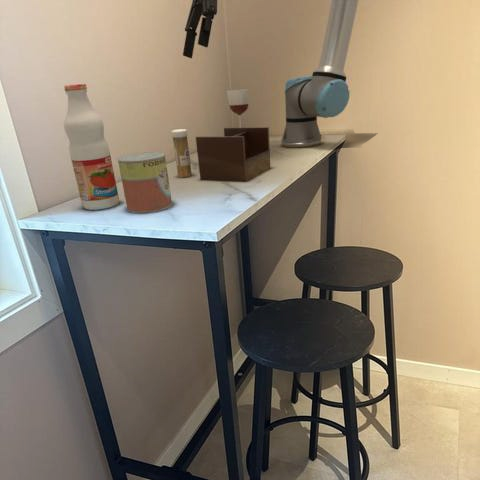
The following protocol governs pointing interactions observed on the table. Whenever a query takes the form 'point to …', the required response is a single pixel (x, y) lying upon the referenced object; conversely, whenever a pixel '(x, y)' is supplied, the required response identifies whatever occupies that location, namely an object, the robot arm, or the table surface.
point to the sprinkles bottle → (182, 152)
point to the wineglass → (238, 101)
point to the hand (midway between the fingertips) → (194, 51)
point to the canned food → (145, 182)
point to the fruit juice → (89, 151)
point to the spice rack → (234, 154)
